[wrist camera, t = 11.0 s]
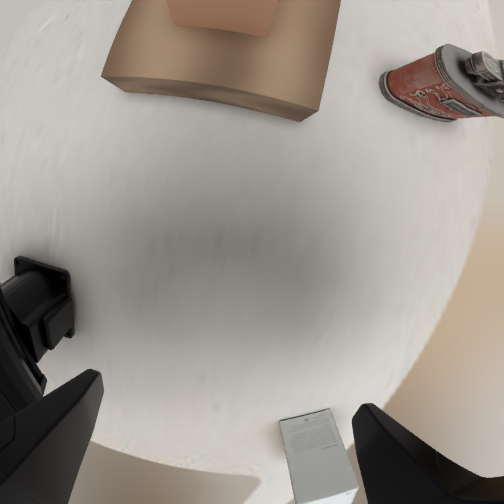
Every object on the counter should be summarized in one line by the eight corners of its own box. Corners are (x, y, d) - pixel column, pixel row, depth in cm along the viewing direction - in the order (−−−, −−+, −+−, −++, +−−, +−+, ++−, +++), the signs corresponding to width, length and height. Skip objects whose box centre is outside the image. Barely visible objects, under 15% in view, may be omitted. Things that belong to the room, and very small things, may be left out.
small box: (278, 419, 25) (294, 505, 15) (330, 407, 25) (360, 487, 15) (286, 452, 27) (299, 521, 17) (329, 441, 27) (351, 508, 17)
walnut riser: (125, 91, 15) (100, 76, 11) (177, -31, 11) (169, -59, 7) (300, 121, 16) (318, 110, 12) (328, -6, 13) (346, -31, 9)
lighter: (379, 103, 16) (479, 76, 7) (378, 64, 15) (466, 19, 6) (453, 128, 17) (544, 130, 7) (452, 93, 16) (538, 82, 6)
